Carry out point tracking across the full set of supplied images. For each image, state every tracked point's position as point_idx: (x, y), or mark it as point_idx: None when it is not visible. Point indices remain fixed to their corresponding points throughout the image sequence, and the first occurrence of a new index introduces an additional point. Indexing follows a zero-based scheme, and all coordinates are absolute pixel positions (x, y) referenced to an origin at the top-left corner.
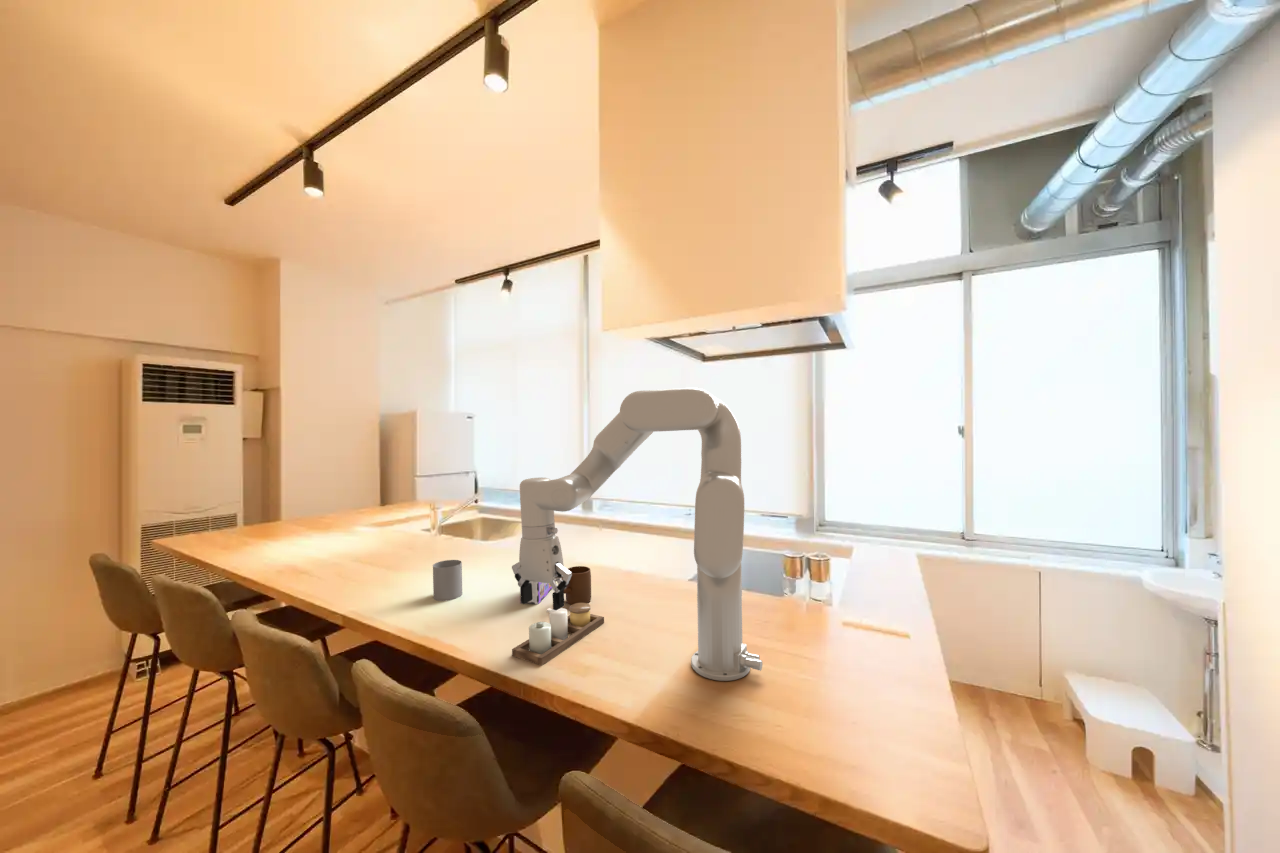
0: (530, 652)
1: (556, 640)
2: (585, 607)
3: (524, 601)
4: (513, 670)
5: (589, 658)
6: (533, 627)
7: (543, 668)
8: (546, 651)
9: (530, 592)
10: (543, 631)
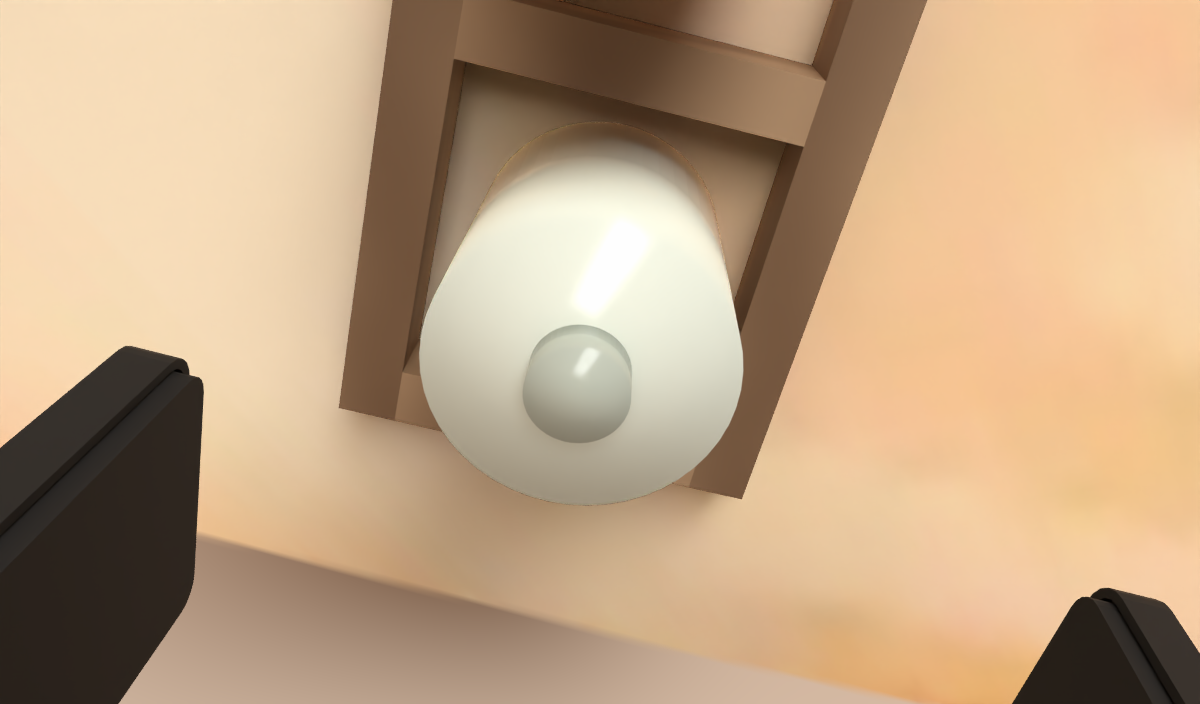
0: None
1: (737, 109)
2: None
3: (171, 611)
4: (526, 565)
5: (1193, 240)
6: (501, 414)
7: (771, 492)
8: None
9: (98, 540)
10: (693, 465)
